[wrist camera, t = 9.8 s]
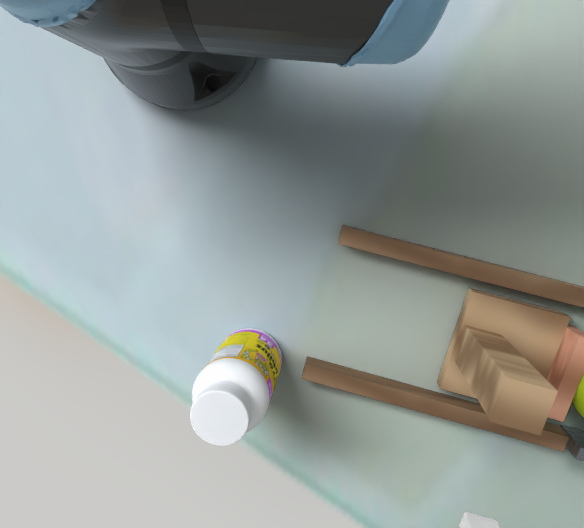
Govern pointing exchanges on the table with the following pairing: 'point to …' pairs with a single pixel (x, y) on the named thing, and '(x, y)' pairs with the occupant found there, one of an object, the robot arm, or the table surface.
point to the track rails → (426, 398)
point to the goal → (575, 441)
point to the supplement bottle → (235, 387)
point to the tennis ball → (579, 397)
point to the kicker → (514, 360)
